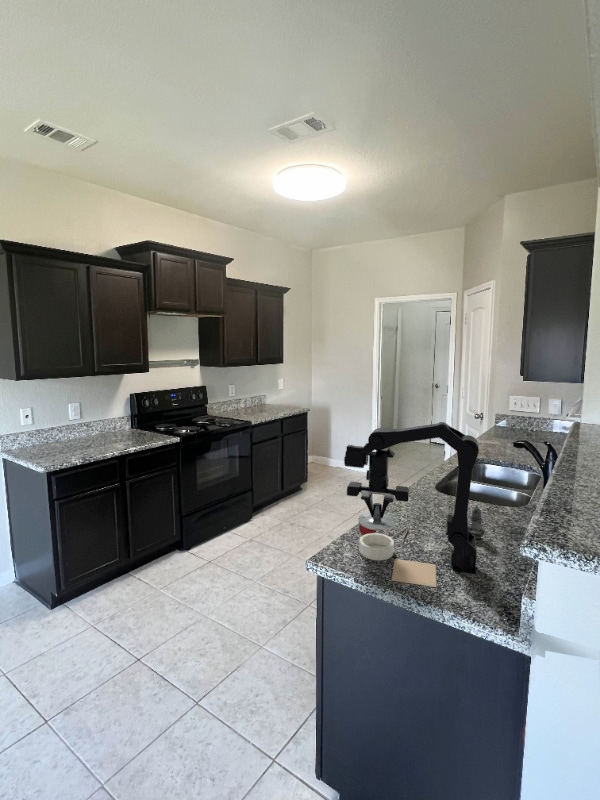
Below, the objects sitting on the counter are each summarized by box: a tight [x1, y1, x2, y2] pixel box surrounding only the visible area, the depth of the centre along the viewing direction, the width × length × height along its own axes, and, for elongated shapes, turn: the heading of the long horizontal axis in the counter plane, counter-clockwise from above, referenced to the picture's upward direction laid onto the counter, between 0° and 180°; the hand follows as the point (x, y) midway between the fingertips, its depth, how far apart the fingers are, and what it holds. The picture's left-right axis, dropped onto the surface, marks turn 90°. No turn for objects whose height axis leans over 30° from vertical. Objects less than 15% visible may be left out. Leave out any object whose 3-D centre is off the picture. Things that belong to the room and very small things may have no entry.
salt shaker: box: [468, 505, 486, 544], centre depth 143 cm, size 6×6×12 cm
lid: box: [358, 502, 397, 531], centre depth 134 cm, size 12×12×6 cm
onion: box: [358, 524, 377, 536], centre depth 145 cm, size 6×6×8 cm
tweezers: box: [390, 525, 411, 543], centre depth 150 cm, size 17×5×2 cm, turn 148°
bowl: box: [358, 532, 395, 561], centre depth 136 cm, size 11×11×4 cm
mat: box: [391, 558, 437, 588], centre depth 124 cm, size 12×12×1 cm
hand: (377, 517), depth 134 cm, fingers closed on lid, 3 cm apart
